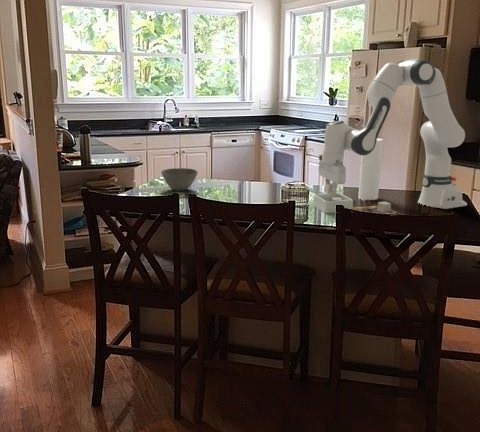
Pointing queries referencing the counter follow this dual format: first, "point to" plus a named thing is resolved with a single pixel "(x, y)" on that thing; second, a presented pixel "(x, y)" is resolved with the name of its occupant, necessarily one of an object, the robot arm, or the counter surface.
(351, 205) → the tub
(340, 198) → the stone
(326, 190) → the stone
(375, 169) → the cylinder container
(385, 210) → the stone
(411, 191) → the counter surface
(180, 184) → the bowl
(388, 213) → the gravel tray
